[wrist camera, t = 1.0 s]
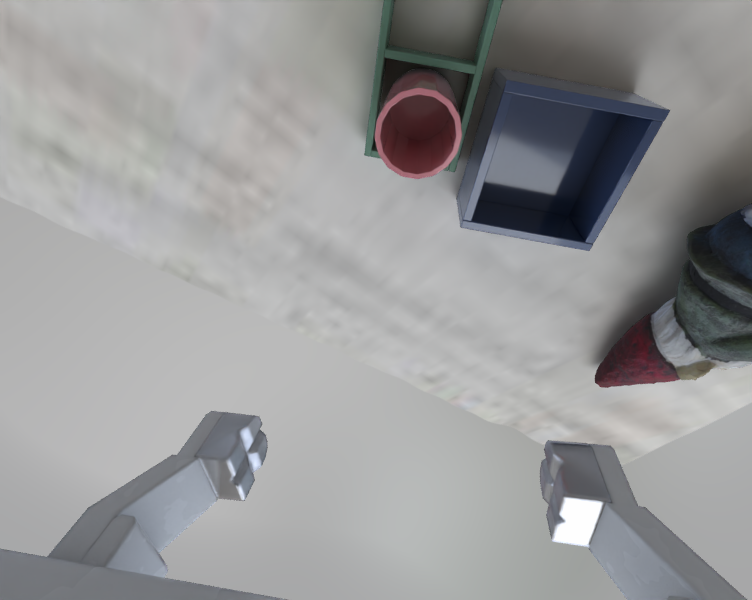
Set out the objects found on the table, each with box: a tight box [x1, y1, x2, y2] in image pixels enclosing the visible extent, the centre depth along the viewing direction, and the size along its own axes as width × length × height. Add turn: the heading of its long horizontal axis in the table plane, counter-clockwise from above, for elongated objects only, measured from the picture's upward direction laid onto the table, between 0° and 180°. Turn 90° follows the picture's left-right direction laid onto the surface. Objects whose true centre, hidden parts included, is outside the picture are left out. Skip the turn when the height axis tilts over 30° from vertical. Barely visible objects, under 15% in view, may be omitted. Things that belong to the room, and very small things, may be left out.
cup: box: [375, 68, 462, 179], centre depth 32 cm, size 6×6×10 cm
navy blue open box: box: [457, 67, 670, 251], centre depth 34 cm, size 12×12×6 cm
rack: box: [364, 0, 503, 172], centre depth 32 cm, size 16×8×3 cm, turn 171°
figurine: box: [595, 203, 752, 388], centre depth 41 cm, size 29×17×15 cm
